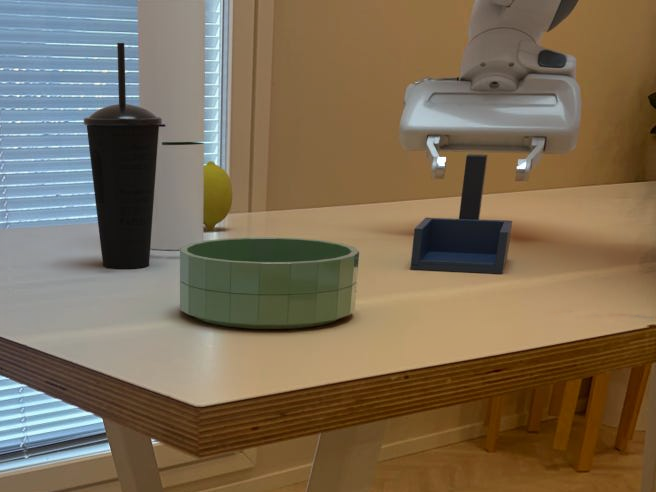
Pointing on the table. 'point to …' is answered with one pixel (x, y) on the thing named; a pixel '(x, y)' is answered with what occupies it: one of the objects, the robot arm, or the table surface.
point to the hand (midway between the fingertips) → (479, 176)
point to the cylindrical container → (175, 114)
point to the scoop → (463, 232)
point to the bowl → (268, 282)
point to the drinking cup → (124, 176)
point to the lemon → (216, 195)
